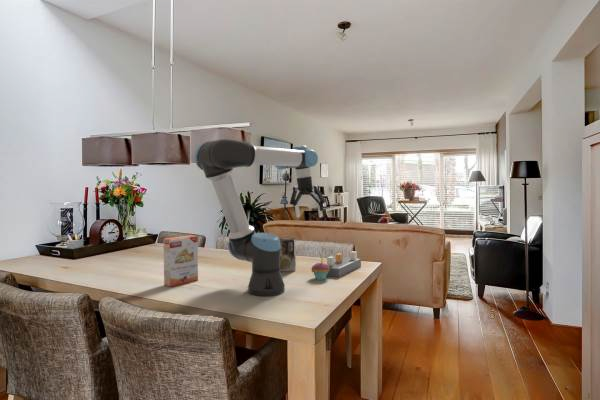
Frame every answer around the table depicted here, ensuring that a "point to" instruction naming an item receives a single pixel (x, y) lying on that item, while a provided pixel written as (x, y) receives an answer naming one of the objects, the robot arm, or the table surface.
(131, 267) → the table surface
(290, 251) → the coffee box
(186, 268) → the cracker box
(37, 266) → the table surface
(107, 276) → the table surface
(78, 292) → the table surface
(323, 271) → the cupcake
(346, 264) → the power bar
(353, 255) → the switch
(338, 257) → the switch
